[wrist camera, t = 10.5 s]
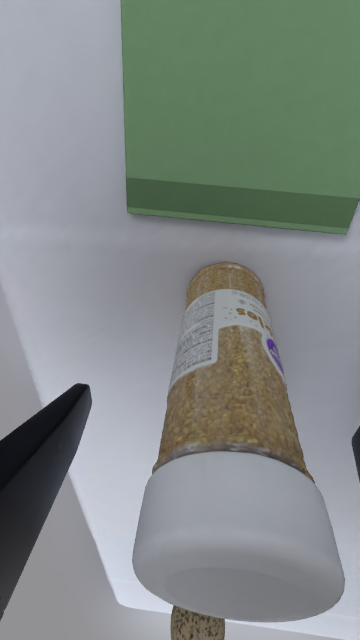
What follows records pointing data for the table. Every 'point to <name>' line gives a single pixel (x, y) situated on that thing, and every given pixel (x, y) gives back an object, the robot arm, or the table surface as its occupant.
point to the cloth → (243, 111)
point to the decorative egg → (195, 626)
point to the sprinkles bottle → (233, 472)
